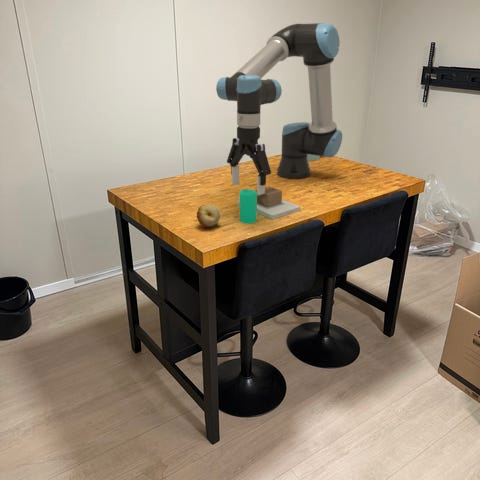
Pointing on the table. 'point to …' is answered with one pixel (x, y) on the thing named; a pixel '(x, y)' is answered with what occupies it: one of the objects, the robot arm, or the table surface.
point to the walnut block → (270, 197)
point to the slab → (277, 209)
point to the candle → (248, 206)
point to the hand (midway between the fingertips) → (247, 189)
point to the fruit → (208, 215)
